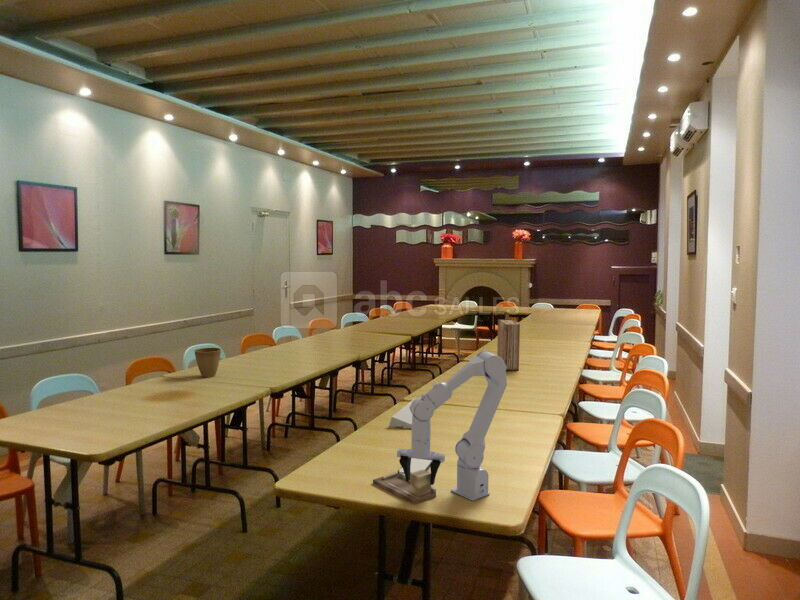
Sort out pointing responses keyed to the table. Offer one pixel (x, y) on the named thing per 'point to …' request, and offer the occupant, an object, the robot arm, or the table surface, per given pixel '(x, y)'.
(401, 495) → the board
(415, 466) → the smartphone
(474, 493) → the robot arm
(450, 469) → the table surface
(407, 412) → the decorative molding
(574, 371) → the table surface
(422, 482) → the block
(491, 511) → the table surface
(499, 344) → the tall wooden block
